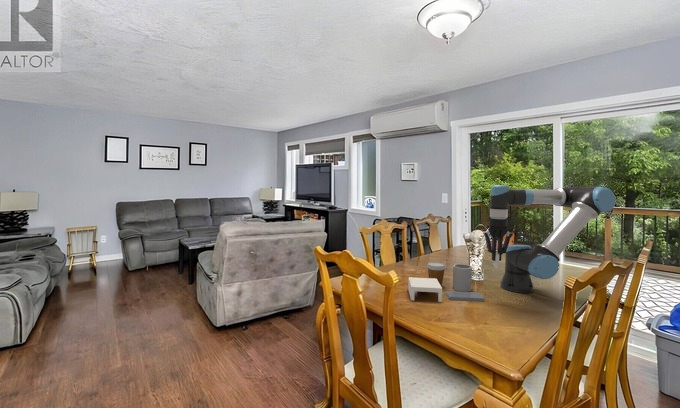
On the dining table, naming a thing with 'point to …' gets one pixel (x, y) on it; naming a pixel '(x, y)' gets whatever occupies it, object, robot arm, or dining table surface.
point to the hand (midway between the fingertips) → (496, 267)
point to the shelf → (424, 286)
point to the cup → (462, 277)
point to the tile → (465, 296)
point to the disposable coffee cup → (436, 271)
